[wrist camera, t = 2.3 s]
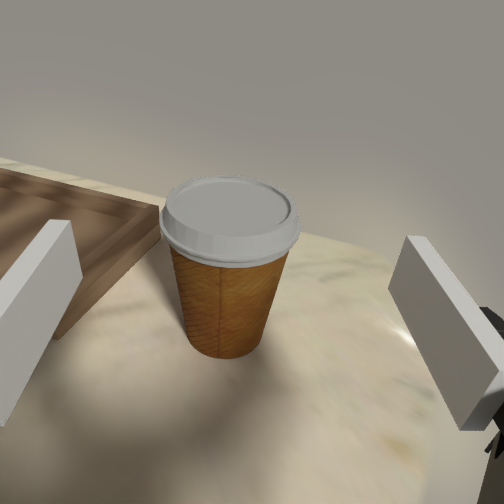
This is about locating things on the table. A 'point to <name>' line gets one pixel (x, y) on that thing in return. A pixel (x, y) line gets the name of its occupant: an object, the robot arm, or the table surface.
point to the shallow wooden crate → (76, 232)
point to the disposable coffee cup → (228, 257)
